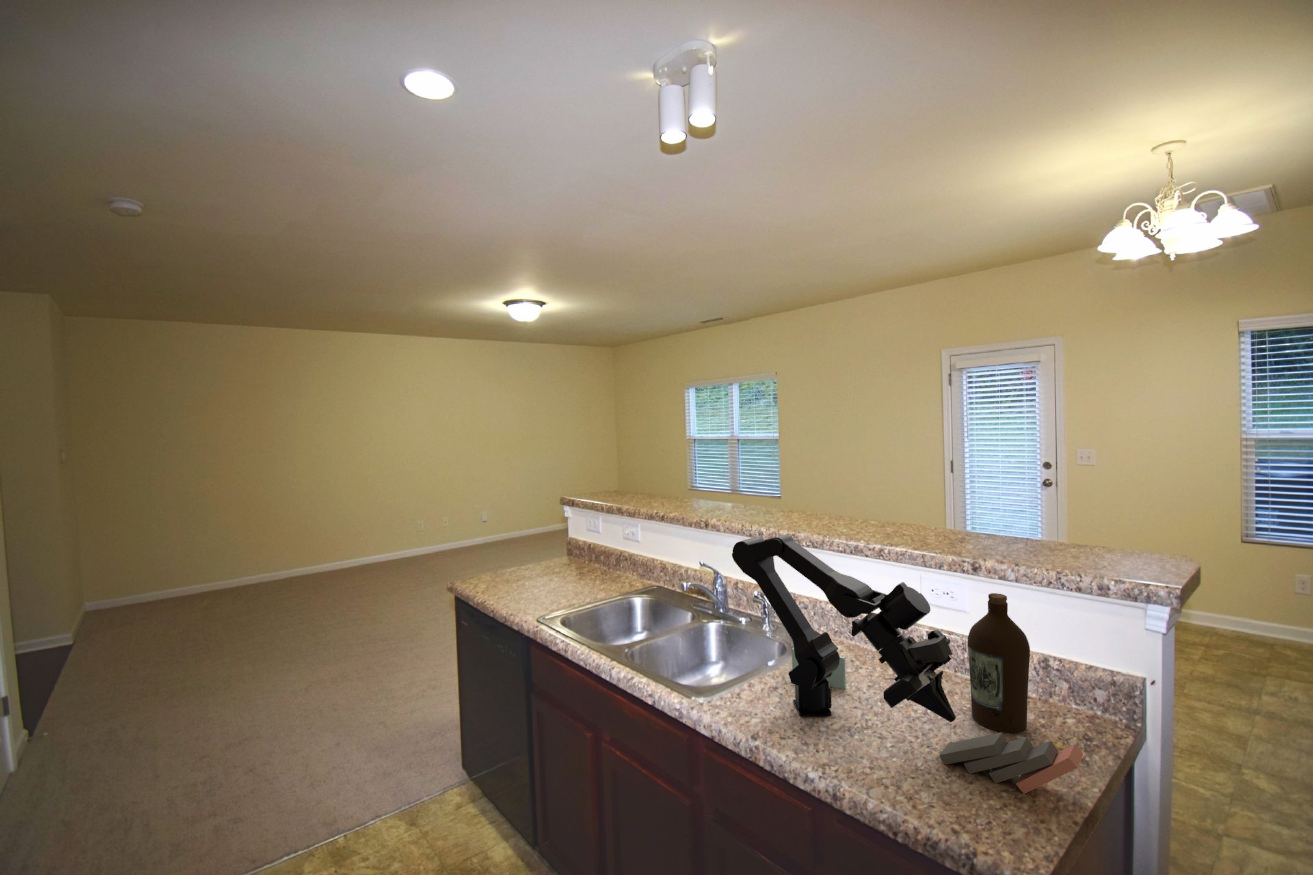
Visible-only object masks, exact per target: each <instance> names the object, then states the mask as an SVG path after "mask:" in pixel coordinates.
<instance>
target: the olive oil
mask: <svg viewBox="0 0 1313 875" xmlns="http://www.w3.org/2000/svg"><path fill="white" fill-rule="evenodd" d="M1007 600H1008V596H1007V595H1005V594H1003V593H998V592H996V593H995V592H994V593H993V592H991V593H989V594H988V601H987V613H986V614H985V615H984V616H983V617H981V619H979V620H978V621H976V622H975V623H974V624H973V625H972V626H971V628H970V629H969V632H968V635H967V636H968V637H967V651H968V652H967V653H968V669H969V682H970V684H969V685H970V700H971V701H970V702H971V705H970V706H971V716H972V718H973V720H974V721H975V722H976V723H978V724H979V725H980V726H982V727H985V728H987V729H989V730H993V731H995V732H999V733H1001V732H1002V733H1011V734H1012V733H1020V732H1023V731H1025V730H1026V728H1027V726H1028V695H1029V694H1028V692H1029V677H1030V676H1029V674H1030V673H1029V672H1030V659H1031V657H1030V656H1031V648H1030V647H1031V646H1030V644H1029V639H1028V638H1027V635H1026V633H1025V632H1024V631H1023V630H1022V629H1021V628H1020V627H1019V625H1018V624H1016V623H1015V621H1013V620H1012V618H1011V617H1010V616H1009V615H1008V611H1009V610H1008V606H1009V603H1008V602H1007Z"/></svg>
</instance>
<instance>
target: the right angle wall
mask: <svg viewBox="0 0 1313 875" xmlns="http://www.w3.org/2000/svg"><path fill="white" fill-rule="evenodd" d="M839 656H840V660H839V666H838V668H837V669H836V670H834V671H833V672H832V675H831V676H830V677H828V678H826V679H827V681H828V684H829V687H834V688H837V689H841V690H842V689H843V690H846V687H847V686H846V685H847V680H846V679H847V677H846V673H847V672H846V671H847V670H846V656H841V655H839ZM791 664H792V665H791V668H792V669H791V670H793V669H794V668H795V667H796V666H798V665H799V664H798V662H797V660H796V658H795V653H794V646H793V647H792V648H791Z"/></svg>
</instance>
